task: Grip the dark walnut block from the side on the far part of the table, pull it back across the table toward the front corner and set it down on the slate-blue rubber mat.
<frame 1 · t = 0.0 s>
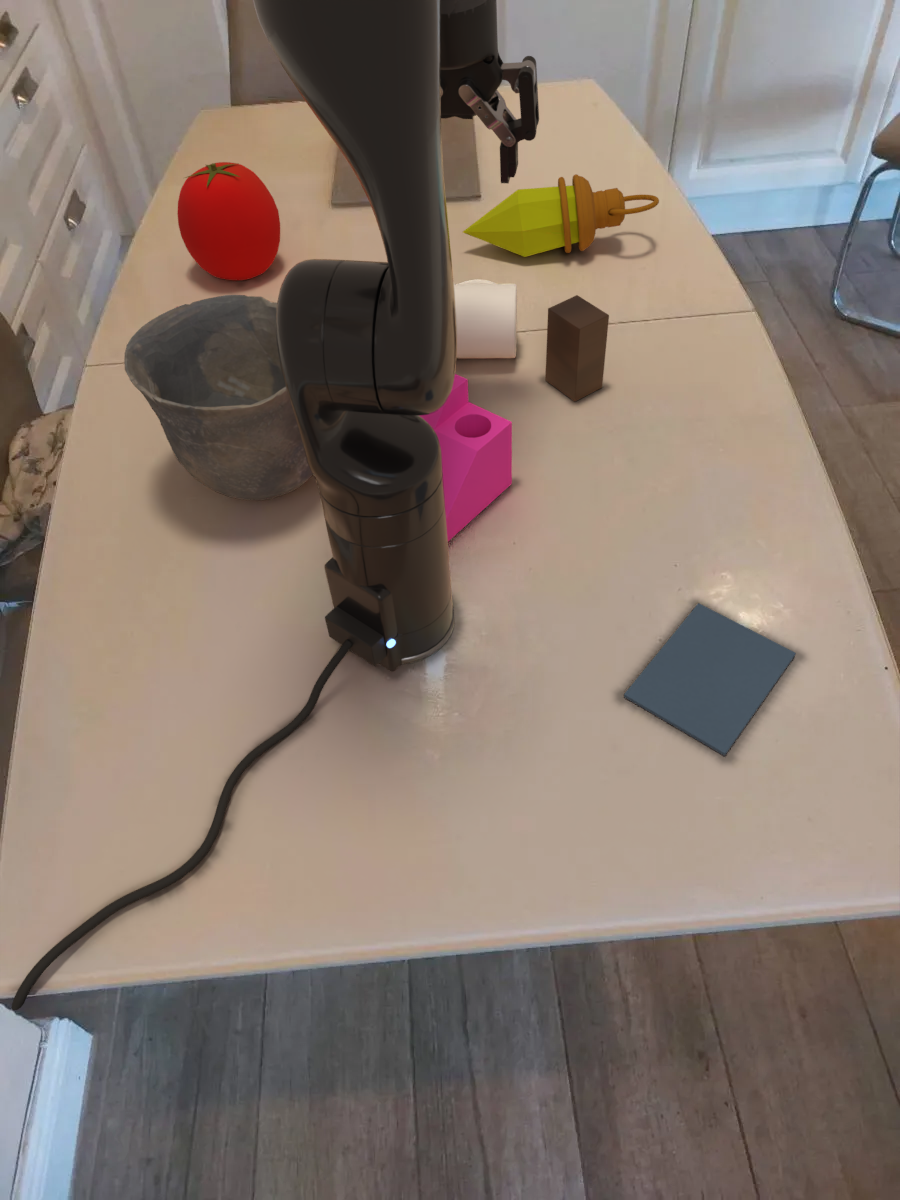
hand: (461, 176, 85), 22 cm above the table, tool pointing down, fingers open, 8 cm apart
plumb bob: (557, 250, 119), on the table
walnut block: (573, 384, 100), on the table
tomato: (240, 272, 119), on the table
mug: (473, 343, 106), on the table
grey deep bowl: (256, 473, 93), on the table
bracket: (433, 497, 90), on the table
blue mat: (710, 676, 74), on the table
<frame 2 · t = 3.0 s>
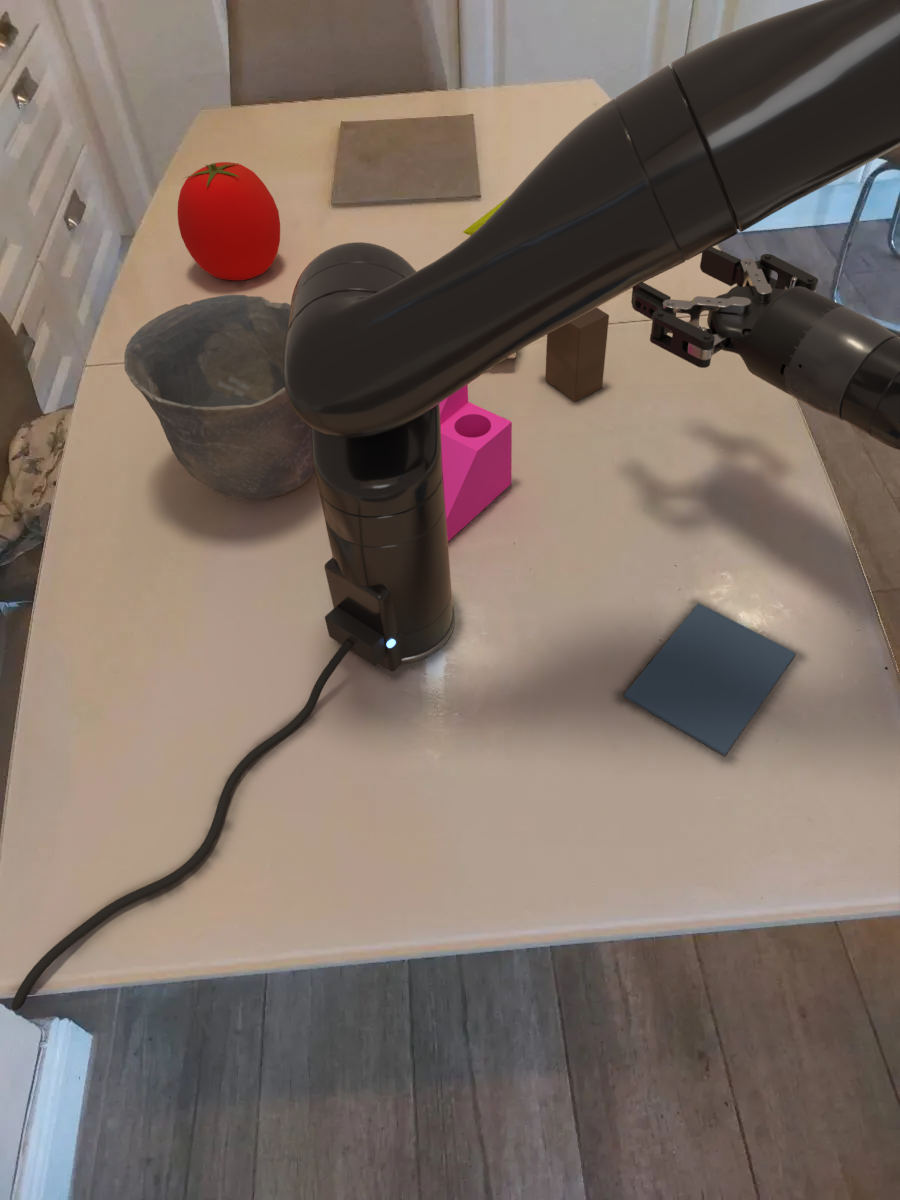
hand: (669, 275, 80), 18 cm above the table, tool horizontal, fingers open, 8 cm apart
nothing on the table moved.
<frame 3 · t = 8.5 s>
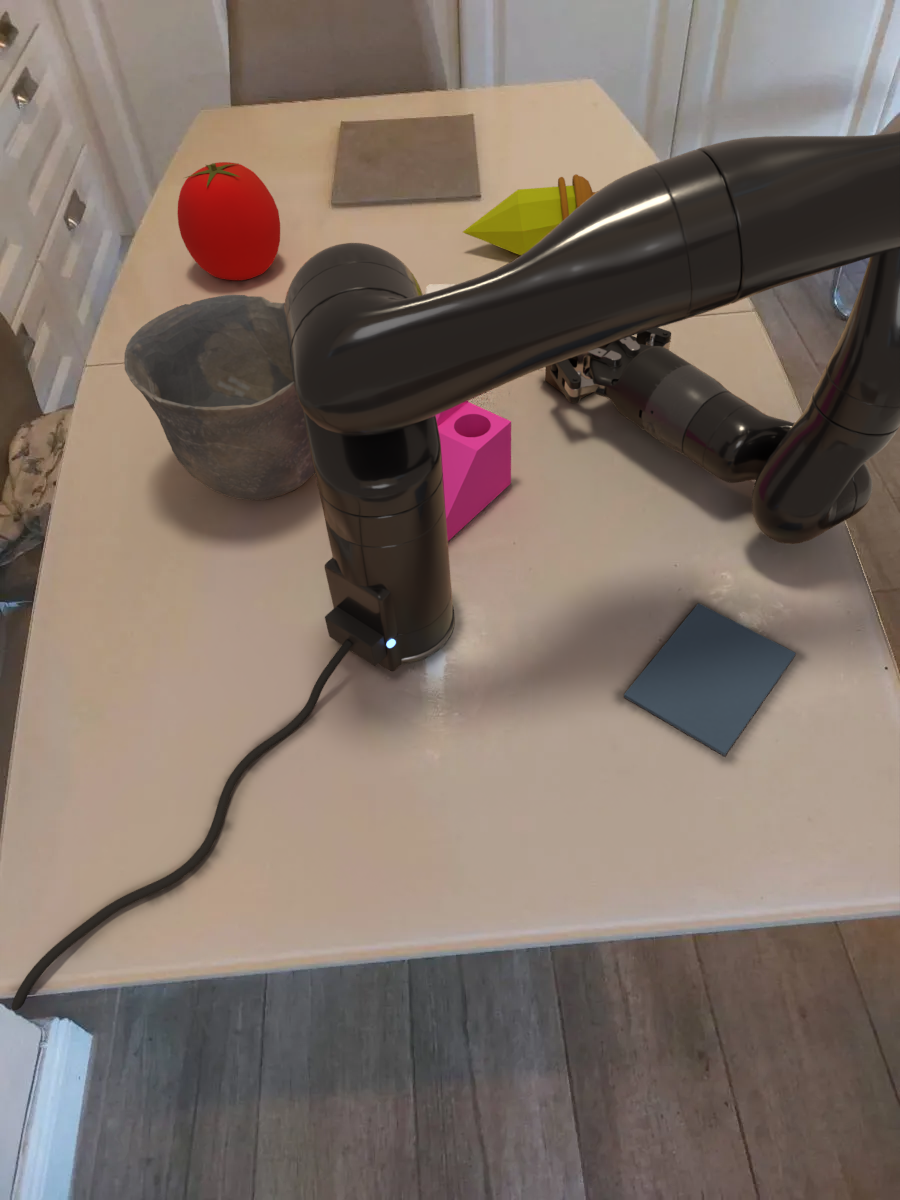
hand: (559, 325, 97), 6 cm above the table, tool horizontal, fingers closed on walnut block, 4 cm apart
walnut block: (573, 384, 100), on the table, touching gripper
everything else where it was.
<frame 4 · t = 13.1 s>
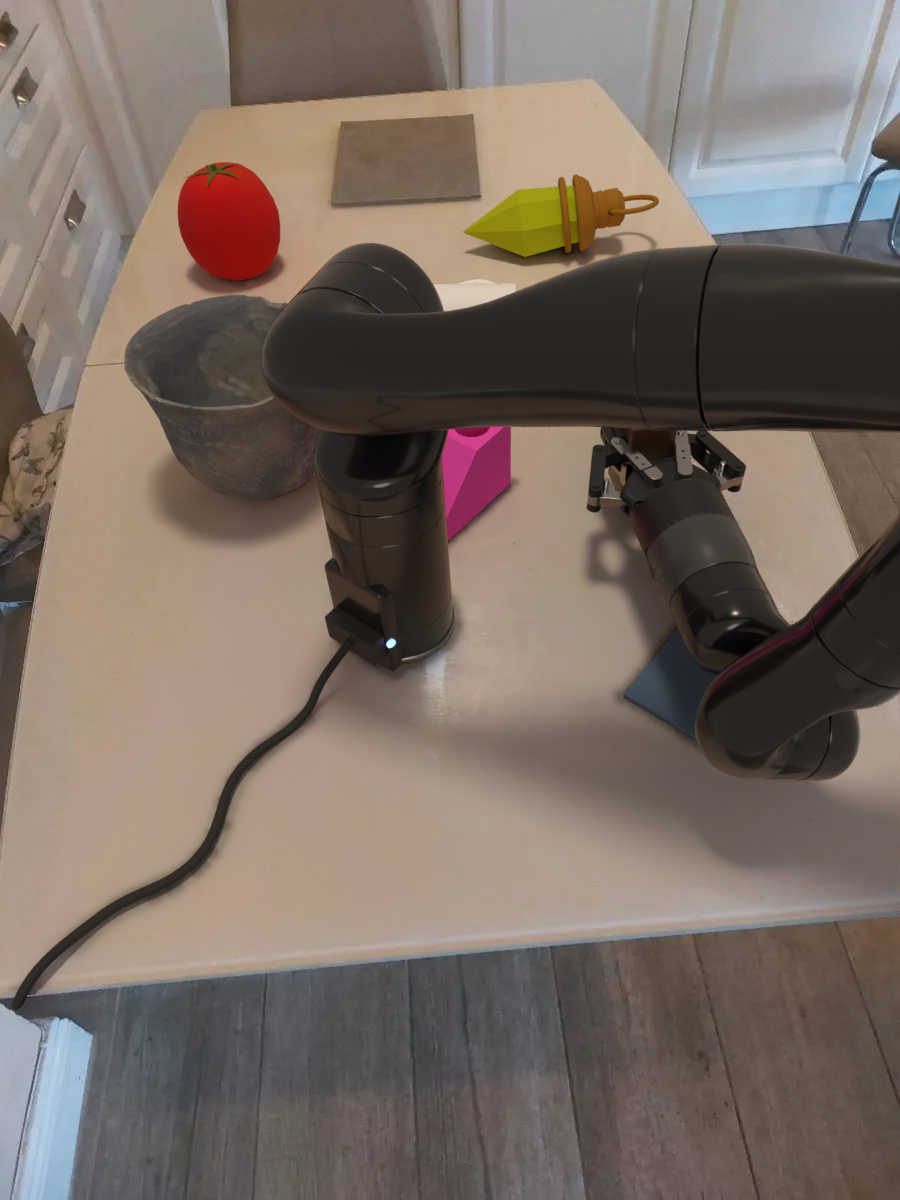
hand: (633, 417, 82), 9 cm above the table, tool horizontal, fingers closed on walnut block, 4 cm apart
walnut block: (635, 487, 85), point 3 cm above the table, touching gripper
everything else where it was.
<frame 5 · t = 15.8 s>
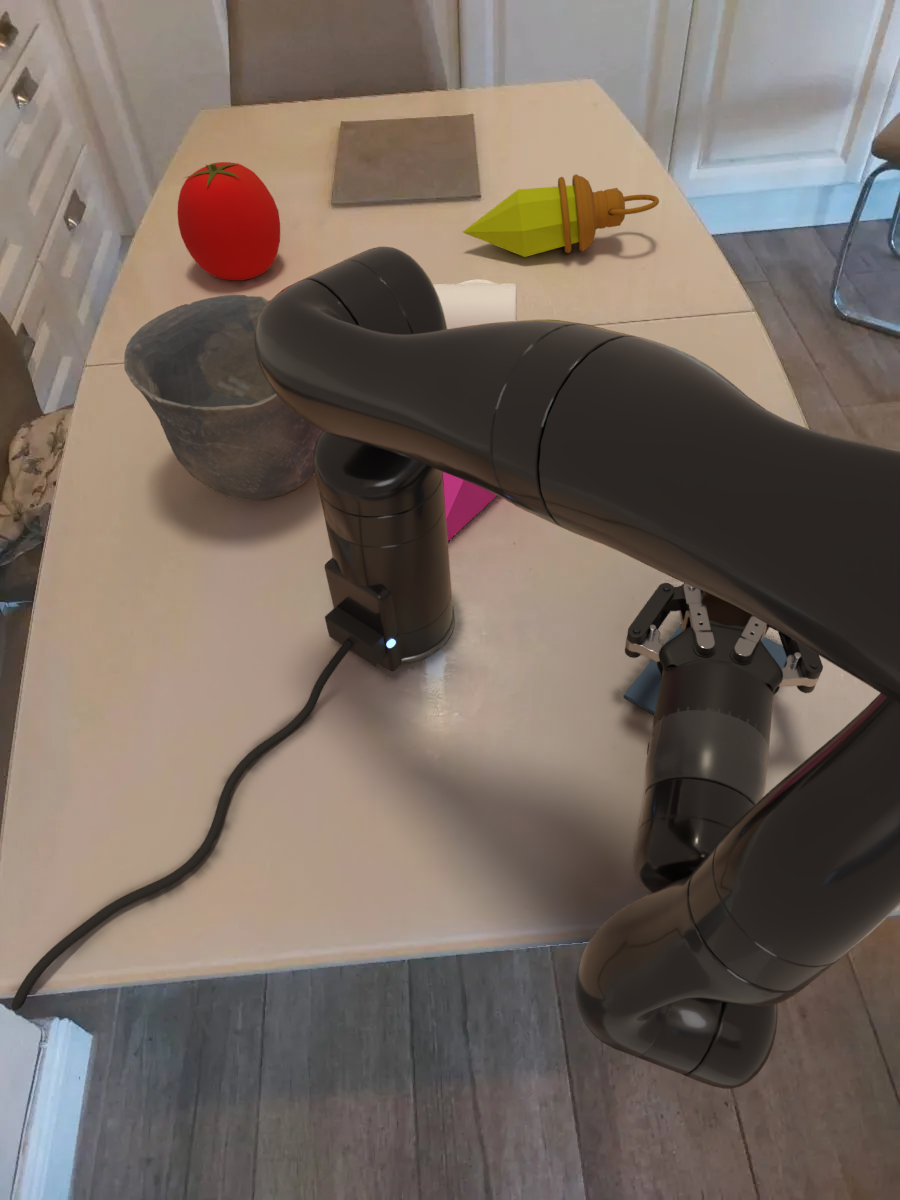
hand: (732, 563, 70), 9 cm above the table, tool horizontal, fingers closed on walnut block, 4 cm apart
walnut block: (715, 638, 73), point 3 cm above the table, touching gripper
everything else where it was.
when the fingers open (6 cm above the table, at t = 17.7 s): walnut block stays where it is, resting on blue mat.
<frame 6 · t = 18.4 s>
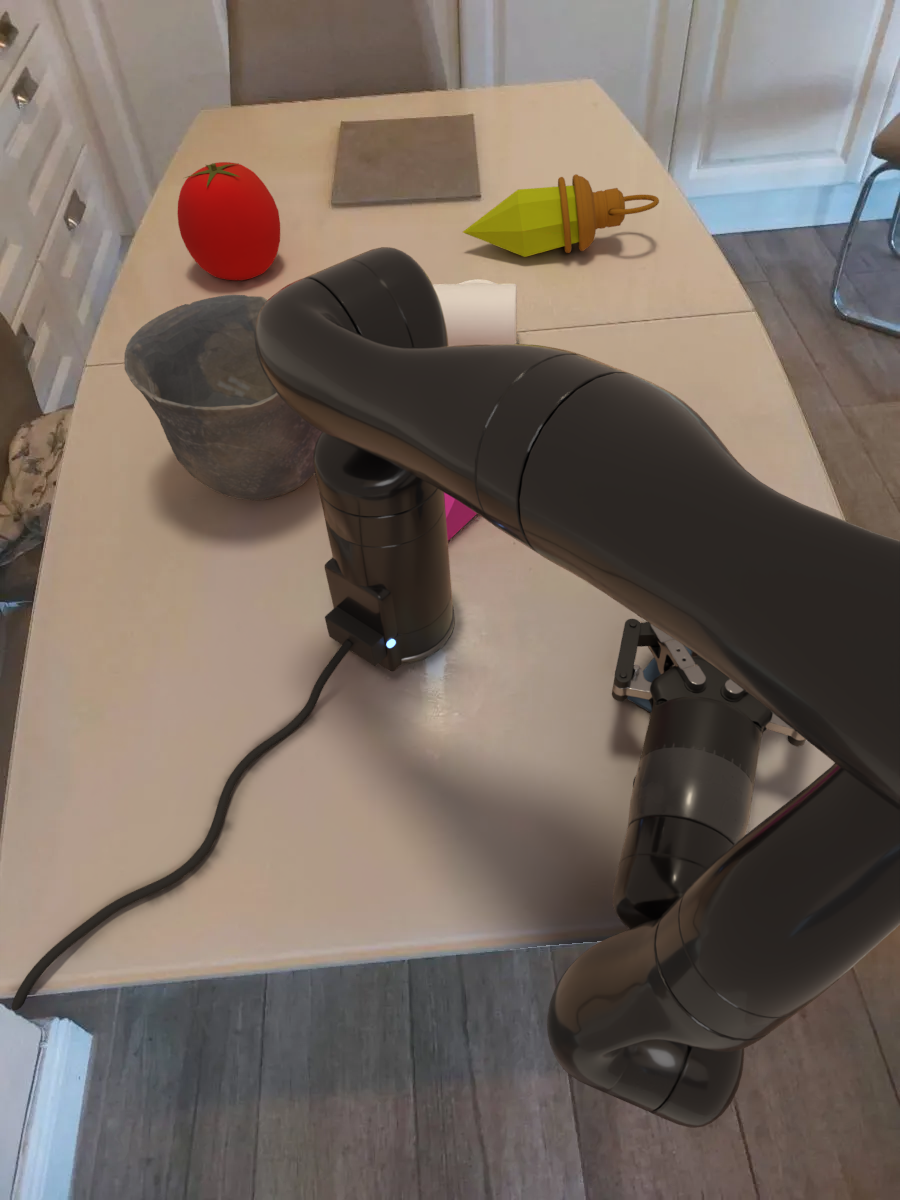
hand: (728, 605, 70), 7 cm above the table, tool horizontal, fingers open, 8 cm apart
walnut block: (712, 674, 74), resting on blue mat
everything else where it was.
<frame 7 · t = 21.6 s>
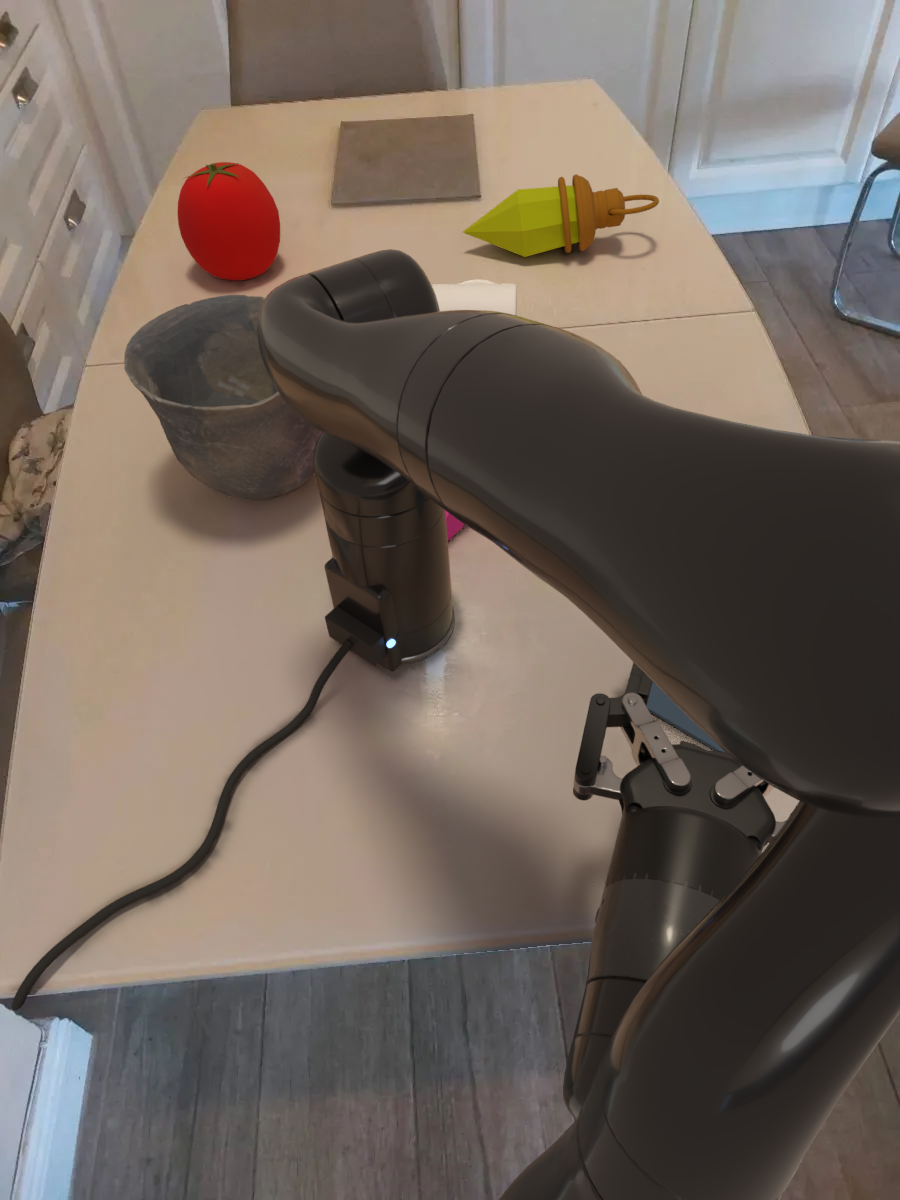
hand: (721, 674, 56), 15 cm above the table, tool horizontal, fingers open, 8 cm apart
nothing on the table moved.
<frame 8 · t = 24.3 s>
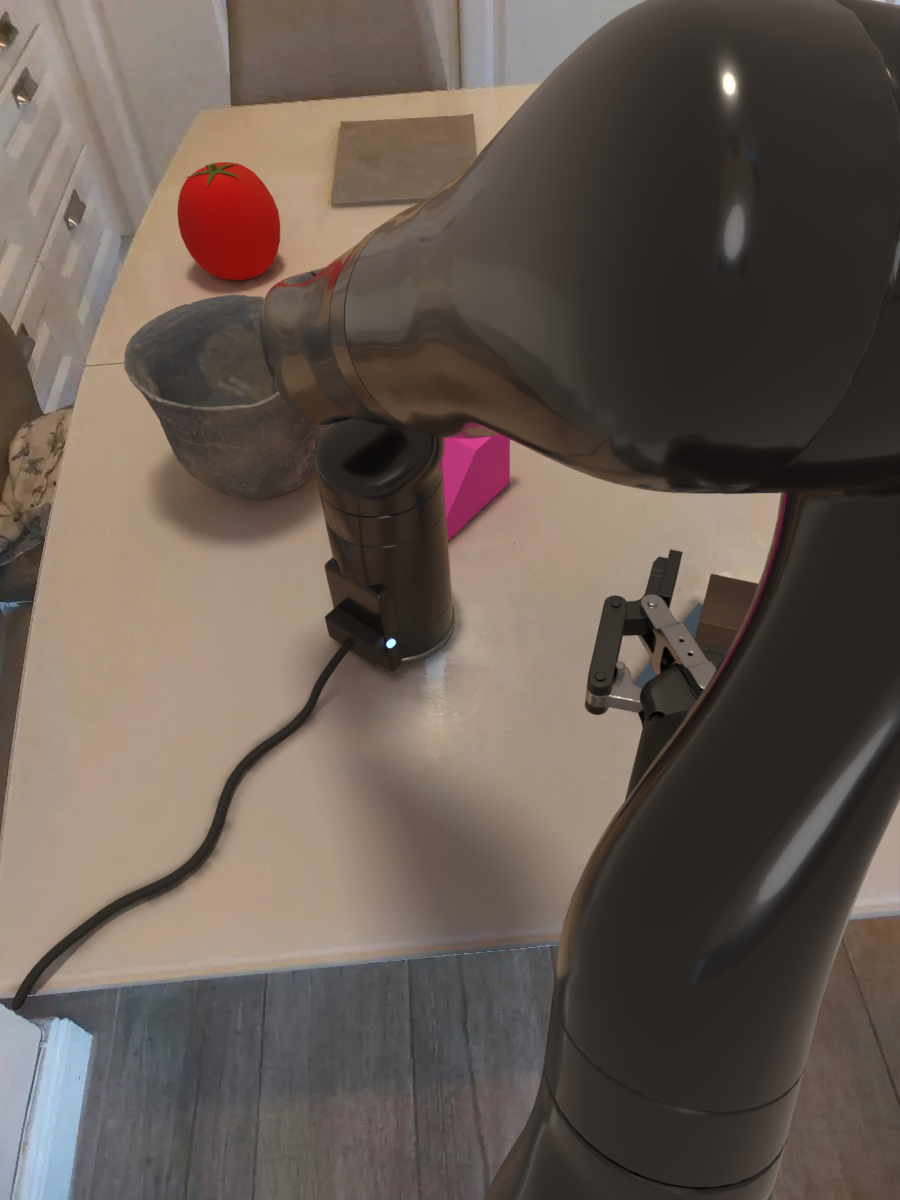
hand: (752, 577, 49), 24 cm above the table, tool horizontal, fingers open, 8 cm apart
nothing on the table moved.
at the end: walnut block inside the target area on the blue mat (0.1 cm from its centre), point 0.4 cm above the blue mat's base; walnut block tilted 0°; walnut block moved 40.6 cm from its start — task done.
